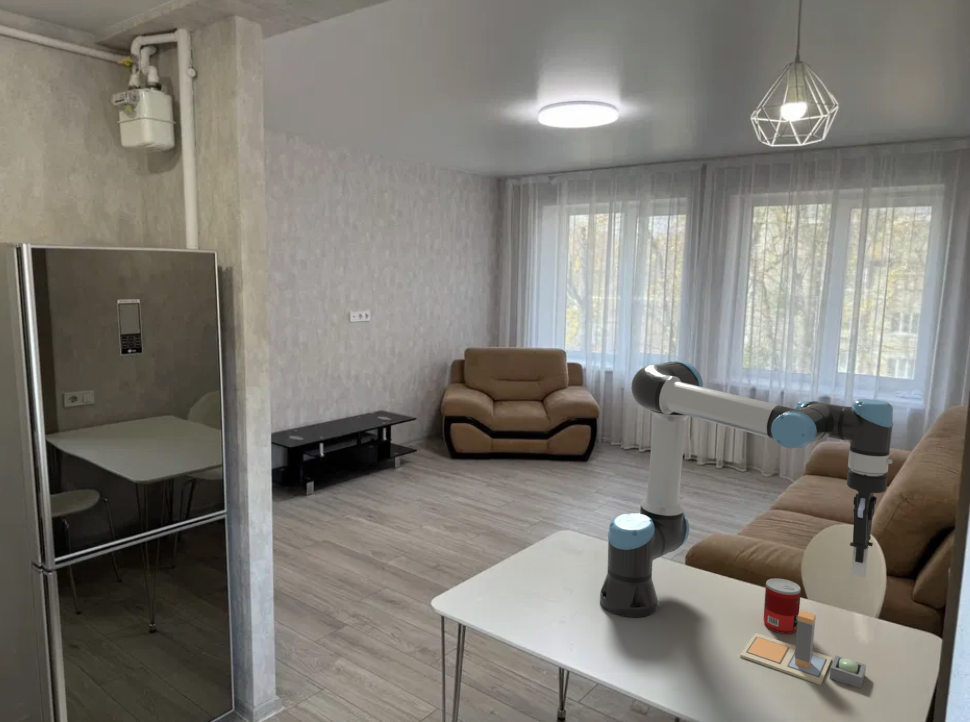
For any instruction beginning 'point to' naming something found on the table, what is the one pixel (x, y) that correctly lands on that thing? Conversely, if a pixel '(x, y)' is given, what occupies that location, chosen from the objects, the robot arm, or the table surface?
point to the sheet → (785, 658)
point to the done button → (848, 665)
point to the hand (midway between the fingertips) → (858, 574)
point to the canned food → (781, 605)
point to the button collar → (847, 673)
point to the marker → (804, 638)
